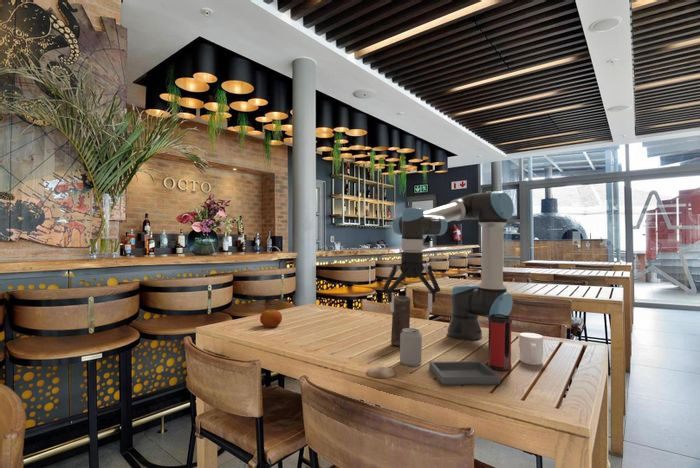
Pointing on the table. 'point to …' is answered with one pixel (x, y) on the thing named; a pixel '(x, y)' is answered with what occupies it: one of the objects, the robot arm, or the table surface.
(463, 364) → the tray
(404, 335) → the can
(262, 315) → the fruit
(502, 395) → the table surface
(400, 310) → the dark brown bottle
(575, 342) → the table surface
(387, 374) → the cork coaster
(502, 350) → the speaker
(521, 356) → the mug
